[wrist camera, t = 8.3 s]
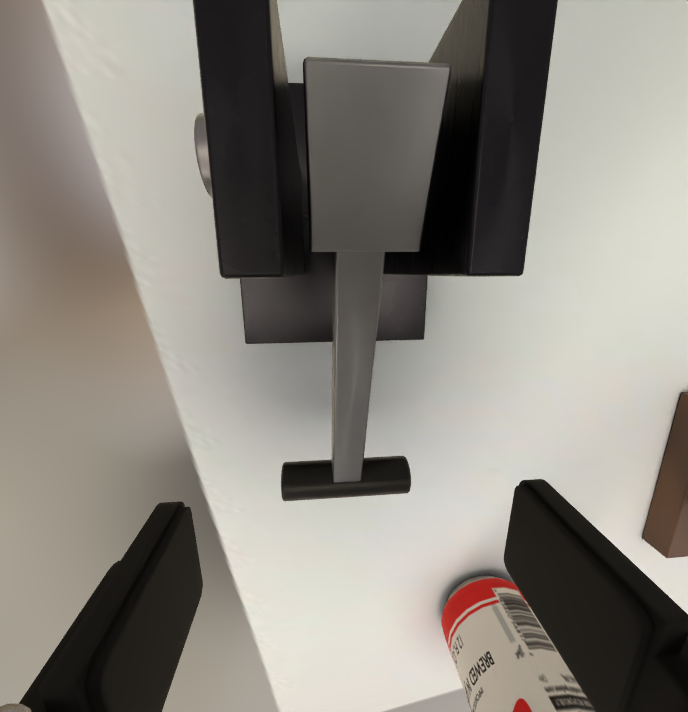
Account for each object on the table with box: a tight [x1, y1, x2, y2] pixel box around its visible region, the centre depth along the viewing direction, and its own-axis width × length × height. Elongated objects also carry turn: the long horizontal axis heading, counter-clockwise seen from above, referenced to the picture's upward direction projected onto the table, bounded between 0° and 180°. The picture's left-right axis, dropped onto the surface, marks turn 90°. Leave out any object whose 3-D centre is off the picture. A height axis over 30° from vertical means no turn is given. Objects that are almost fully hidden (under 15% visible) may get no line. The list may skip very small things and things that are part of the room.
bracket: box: [193, 0, 558, 344], centre depth 10 cm, size 11×9×12 cm
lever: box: [281, 57, 451, 501], centre depth 10 cm, size 13×5×2 cm, turn 0°
